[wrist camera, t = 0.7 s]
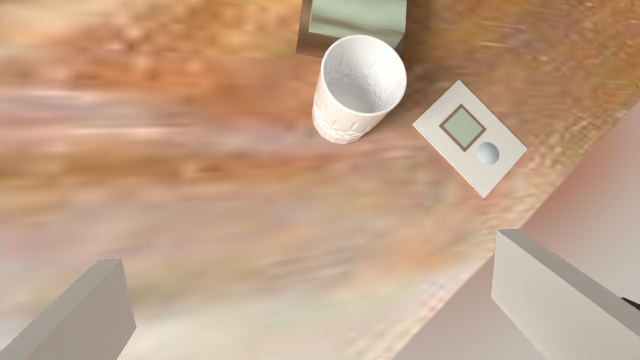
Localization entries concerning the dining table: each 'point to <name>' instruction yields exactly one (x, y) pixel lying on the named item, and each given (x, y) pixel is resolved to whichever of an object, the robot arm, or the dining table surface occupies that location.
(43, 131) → the dining table surface
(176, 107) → the dining table surface
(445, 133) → the page
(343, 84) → the white cup
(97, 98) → the dining table surface
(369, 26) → the tower base
